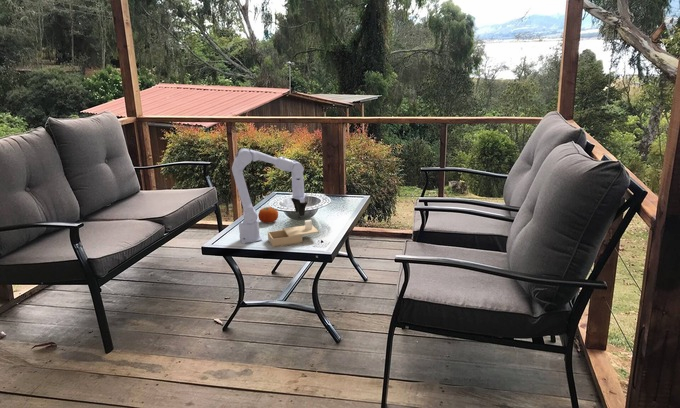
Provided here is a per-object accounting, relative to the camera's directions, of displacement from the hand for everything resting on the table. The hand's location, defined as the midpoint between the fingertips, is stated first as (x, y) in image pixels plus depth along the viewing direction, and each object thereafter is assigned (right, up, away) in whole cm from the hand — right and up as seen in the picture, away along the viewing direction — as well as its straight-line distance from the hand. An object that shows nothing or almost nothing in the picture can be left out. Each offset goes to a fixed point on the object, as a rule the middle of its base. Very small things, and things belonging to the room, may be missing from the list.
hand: (299, 213), depth 250 cm
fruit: (-19, -5, +25) cm, 32 cm away
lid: (+1, -8, -6) cm, 10 cm away
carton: (-6, -13, -8) cm, 16 cm away
